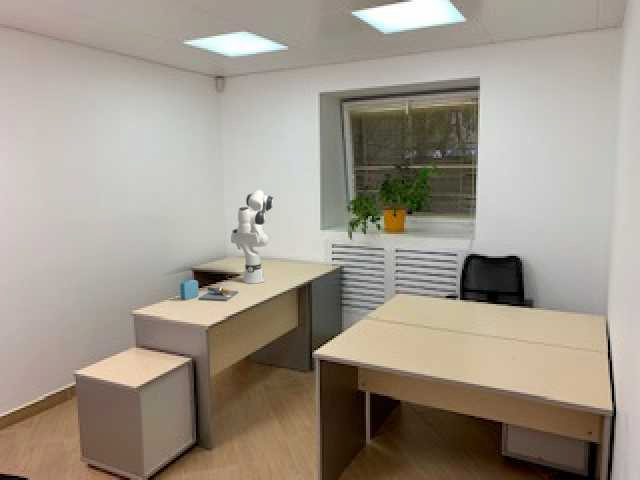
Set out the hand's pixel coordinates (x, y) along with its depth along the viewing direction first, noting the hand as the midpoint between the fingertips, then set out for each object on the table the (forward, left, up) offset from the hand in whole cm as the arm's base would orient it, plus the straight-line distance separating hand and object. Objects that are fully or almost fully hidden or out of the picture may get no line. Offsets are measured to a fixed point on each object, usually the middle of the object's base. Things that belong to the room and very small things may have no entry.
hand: (245, 249), depth 347 cm
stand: (+15, -15, -31) cm, 38 cm away
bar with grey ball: (+15, -15, -29) cm, 36 cm away
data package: (+23, -33, -31) cm, 51 cm away
